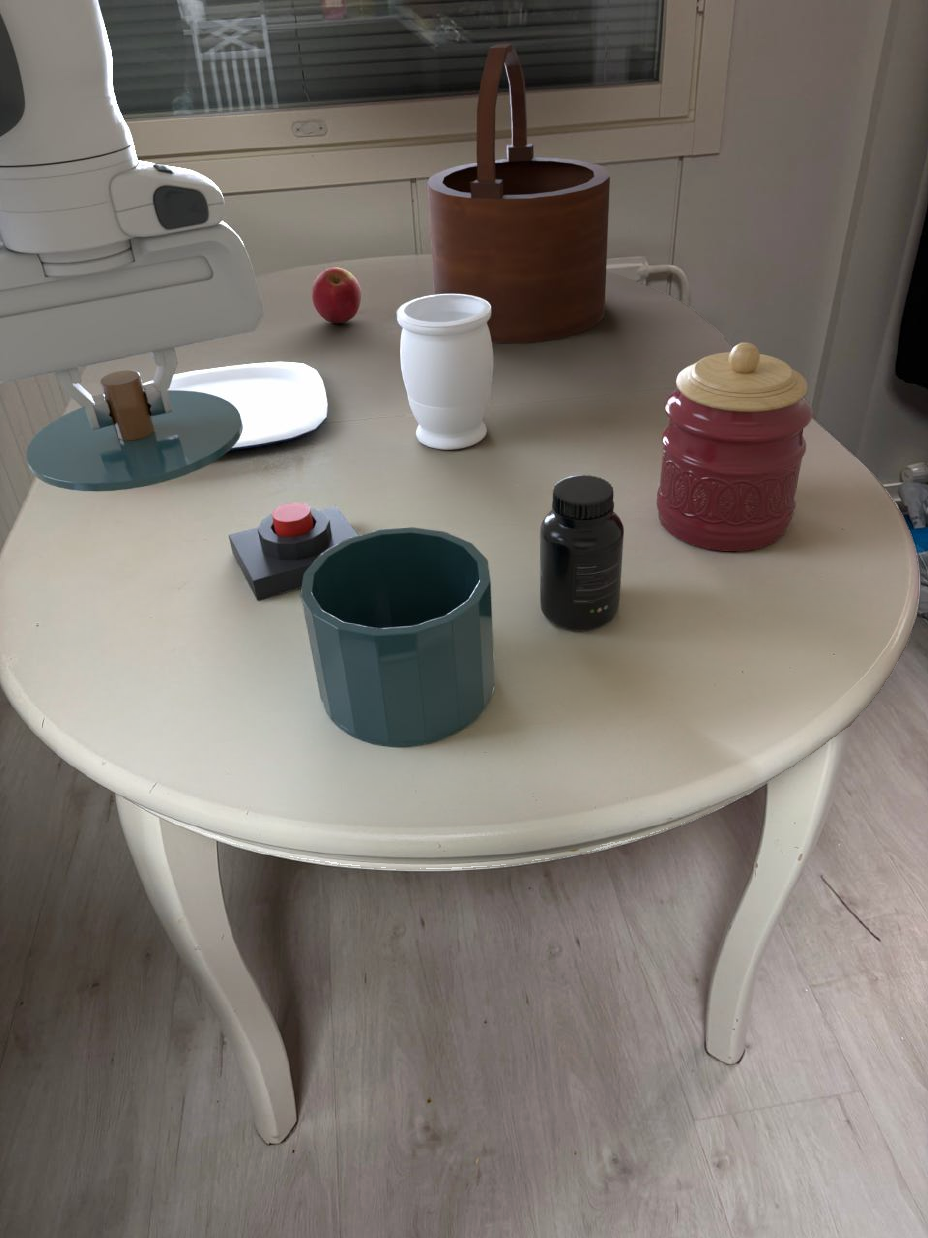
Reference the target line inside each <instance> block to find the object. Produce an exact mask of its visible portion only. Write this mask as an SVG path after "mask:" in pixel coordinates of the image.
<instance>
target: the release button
mask: <svg viewBox="0 0 928 1238" xmlns="http://www.w3.org/2000/svg"><path fill="white" fill-rule="evenodd" d="M311 508H312V507H310V505H308V504H307V503H304V502H300V501H291V502H285V503H283V504H280V505H278V506H276V507H275V508H274V509H273V510H272V512H271V514H272V518H273V523H274V528H275V532H276V534H278V535H280V536H283V537H295V536H299V535H302V534H306V533H307V532H309V531H310V530H312V529H313V519H312V513H311Z"/></svg>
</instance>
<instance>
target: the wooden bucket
mask: <svg viewBox="0 0 928 1238" xmlns="http://www.w3.org/2000/svg"><path fill="white" fill-rule="evenodd" d="M504 68H505V72H506V77H507V80H508V81H507V82H508V87H509V102H510V117H511V144H506V158H501V159H496V107H497V99H498V93H499V85H500V79H501V76H502V73H503V69H504ZM479 85H480V86H479V93H478V98H477V99H478V100H477V106H476V162H471V163H465V164H461V165H456V166H453V167H450V168H447V169H444V170H440V171H439V172H436V173H435V174H433V175H432V176H430V177H429V178H428V180H427V182H426V190H427V205H428V220H429V233H430V249H431V262H432V264H431V265H432V276H433V290H434V295H437V294H465V295H471V296H476V297H479V298H482V299H484V300H486V301H487V302H489V304H490V305H491V317H490V319H489V320H488V321H487V325H488V328H489V331H490V336H491V341H492V343H499V344H526V343H527V344H528V343H529V344H530V343H531V344H532V343H538V342H545V341H553V340H560V339H563V338H566V337H569V336H570V337H571V336H573V335H577V334H580V333H583V332H584V331H586V330H589V329H590V328H593V327H594V326H596V325H598V323H599V322H600V321H601V320H602V319H603V317H604V316H605V311H606V287H607V286H606V285H607V263H608V262H607V261H608V260H607V259H608V236H609V212H610V211H609V208H610V186H611V185H610V184H611V180H610V179H611V174H610V170H609V169H608V168H605V167H603V166H602V165H600V164H598V163H593V162H589V161H585V160H578V159H568V158H561V157H535V156H534V155H535V154H534V153H535V152H534V151H535V150H534V143H528V118H527V99H526V81H525V78H524V71H523V67H522V62H521V61H520V58H519V55H518V52H517V51H516V48H515V45H514V43H513V42H511V43H495V44H494V45H492V46H490V47H489V48H488V52H487V56H486V60H485V64H484V67H483V73H482V76H481V80H480V84H479Z"/></svg>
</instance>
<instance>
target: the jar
mask: <svg viewBox="0 0 928 1238" xmlns="http://www.w3.org/2000/svg"><path fill="white" fill-rule="evenodd" d="M490 317H491V305H490V304H489V302H487V301H486V300H484V299H482V298H479V297H476V296H471V295H465V294H437V295H435V294H431V295H424V296H421V297H416V298H413V299H410V300H407V301H406V302H405V303H402V304H401V305H400V306H399V307H398V308H397V310H396V321H397V323H398V324H399V326H400V327H402V329H401V333H400V334H401V335H400V344H399V345H400V347H399V352H400V354H399V357H400V358H399V359H400V369H401V376H402V381H403V384H404V388H405V390H406V393H407V401H408V404H409V407H410V410H411V413H412V415H413V417H414V419H415V421H416V422H417V424H418V426H417V428H416V431H415V436H416V438H417V440H418V442H420V444H422V445H424V446H426V447H428V448H432V449H435V450H446V451H448V450H450V451H451V450H461V449H465V448H469V447H472V446H474V445H477V444H478V443H480V442H481V441H482V440H483V439H484V438H485V437H486V435H487V433H488V430H487V426H486V424H485V422H484V419H485V416H486V414H487V411H488V409H489V403H490V398H491V388H492V382H493V375H494V374H493V373H494V350H493V342H492V341H491V336H490V331H489V328H488V325H487V321H488V320H489V319H490Z"/></svg>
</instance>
